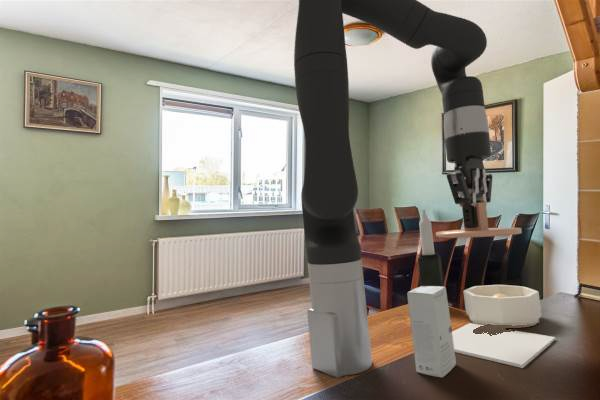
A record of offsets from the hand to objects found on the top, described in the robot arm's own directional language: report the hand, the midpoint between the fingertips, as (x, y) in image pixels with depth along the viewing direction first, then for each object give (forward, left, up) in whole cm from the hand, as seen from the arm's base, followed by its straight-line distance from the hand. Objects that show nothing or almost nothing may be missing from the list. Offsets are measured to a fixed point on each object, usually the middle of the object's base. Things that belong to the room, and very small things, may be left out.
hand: (475, 226), depth 64 cm
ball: (+14, +3, -17) cm, 23 cm away
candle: (+16, +20, -21) cm, 33 cm away
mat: (-1, -1, -21) cm, 21 cm away
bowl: (+14, +3, -21) cm, 25 cm away
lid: (0, 0, -1) cm, 1 cm away
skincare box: (-16, +1, -21) cm, 26 cm away
